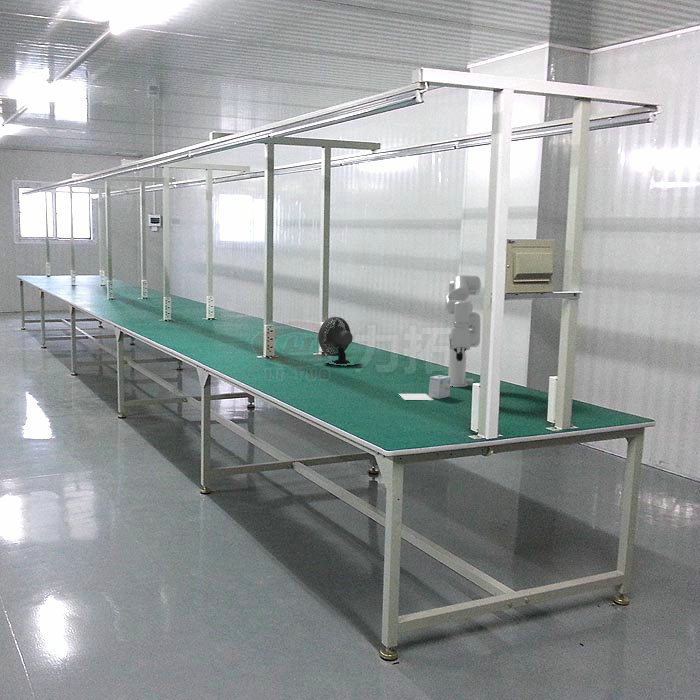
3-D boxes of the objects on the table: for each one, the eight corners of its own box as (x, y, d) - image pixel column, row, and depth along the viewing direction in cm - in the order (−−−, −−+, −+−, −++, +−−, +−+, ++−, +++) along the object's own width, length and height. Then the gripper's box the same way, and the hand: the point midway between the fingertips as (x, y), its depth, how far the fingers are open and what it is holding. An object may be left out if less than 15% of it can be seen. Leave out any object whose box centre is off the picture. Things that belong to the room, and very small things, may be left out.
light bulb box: (439, 394, 402) (440, 374, 400) (449, 396, 397) (451, 376, 396) (427, 397, 393) (429, 376, 392) (438, 399, 389) (440, 378, 388)
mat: (425, 394, 402) (425, 393, 402) (433, 400, 387) (433, 399, 387) (397, 394, 400) (397, 393, 400) (405, 400, 384) (405, 400, 384)
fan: (354, 360, 512) (355, 315, 508) (360, 366, 486) (361, 319, 482) (315, 359, 509) (316, 315, 504) (319, 366, 483) (320, 319, 479)
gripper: (472, 325, 397) (470, 359, 399) (444, 324, 394) (443, 359, 397) (477, 326, 390) (475, 362, 392) (449, 326, 387) (447, 361, 389)
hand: (459, 360), depth 394 cm, fingers closed
